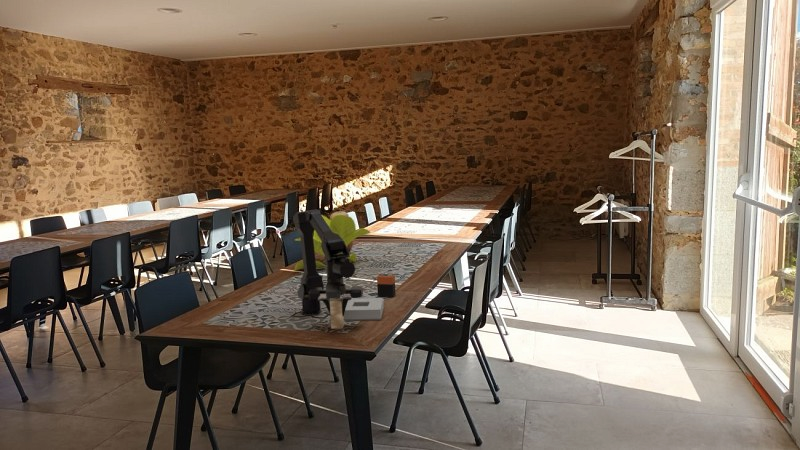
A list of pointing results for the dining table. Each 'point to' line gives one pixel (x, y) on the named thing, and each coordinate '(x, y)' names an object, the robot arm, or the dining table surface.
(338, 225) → the artificial plant
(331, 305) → the peg
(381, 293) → the battery
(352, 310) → the socket block
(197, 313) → the dining table surface
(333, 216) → the butternut squash
